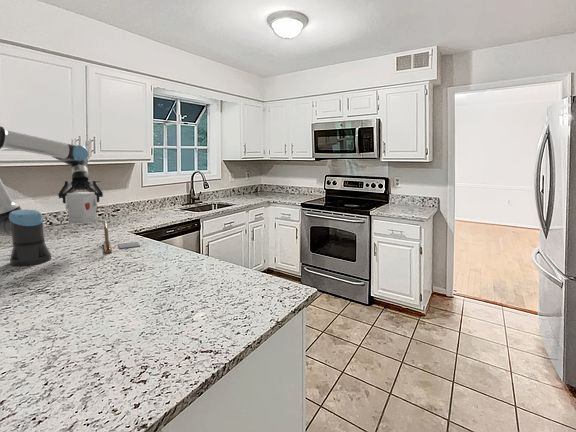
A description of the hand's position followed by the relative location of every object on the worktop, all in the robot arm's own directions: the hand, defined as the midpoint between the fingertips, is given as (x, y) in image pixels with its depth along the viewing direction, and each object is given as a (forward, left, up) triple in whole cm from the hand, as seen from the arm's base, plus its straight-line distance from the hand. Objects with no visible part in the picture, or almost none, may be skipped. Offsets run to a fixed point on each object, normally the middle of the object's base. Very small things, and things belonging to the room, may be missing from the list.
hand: (81, 207), depth 169 cm
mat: (+20, +2, -23) cm, 31 cm away
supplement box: (0, +1, -8) cm, 8 cm away
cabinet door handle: (+10, +2, -23) cm, 25 cm away
